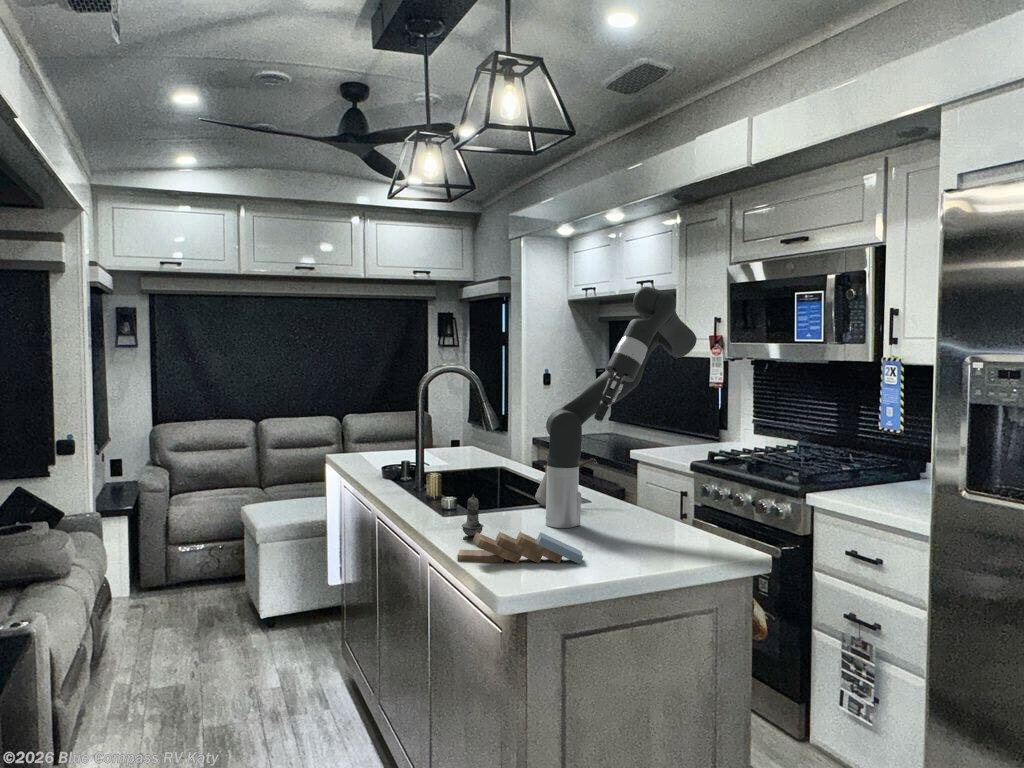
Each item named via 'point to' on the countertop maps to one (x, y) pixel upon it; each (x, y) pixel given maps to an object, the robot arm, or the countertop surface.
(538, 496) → the coffee pot
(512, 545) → the domino
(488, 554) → the domino
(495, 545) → the domino
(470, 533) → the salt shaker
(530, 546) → the domino
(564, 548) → the blue domino
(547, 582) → the countertop surface
